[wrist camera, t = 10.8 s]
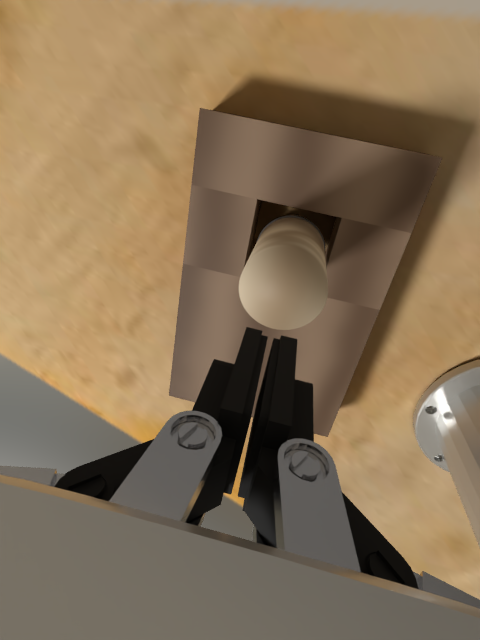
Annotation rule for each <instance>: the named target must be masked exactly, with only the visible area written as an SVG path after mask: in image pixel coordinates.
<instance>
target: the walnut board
mask: <svg viewBox="0 0 480 640" xmlns="http://www.w3.org/2000/svg"><path fill="white" fill-rule="evenodd" d="M441 160H442V158H441V157H437V156H433V155H429V154H424V153H419V152H414V151H409V150H404V149H399V148H394V147H390V146H385V145H380V144H375V143H370V142H365V141H360V140H355V139H350V138H346V137H341V136H336V135H331V134H326V133H321V132H316V131H311V130H306V129H302V128H297V127H292V126H287V125H282V124H277V123H272V122H267V121H262V120H258V119H253V118H248V117H243V116H238V115H233V114H228V113H223V112H218V111H214V110H208V109H202V108H200V112H199V121H198V130H197V139H196V149H195V158H194V167H193V177H192V186H191V195H190V205H189V214H188V223H187V232H186V242H185V251H184V260H183V270H182V279H181V288H180V297H179V307H178V316H177V325H176V335H175V344H174V353H173V363H172V372H171V381H170V390H169V396H173V397H177V398H181V399H185V400H188V401H192V402H196V400H197V398H198V395H199V393H200V390H201V388H202V386H203V383H204V381H205V379H206V376H207V374H208V371H209V369H210V367H211V364H212V362H213V360H214V359H216V360H220V361H224V362H228V363H232V364H235V361H236V358H237V355H238V352H239V349H240V346H241V342H242V339H243V336H244V333H245V330H246V327H250V328H254V329H258V330H262V335H264V336H268V339H267V344H266V348H265V353H264V358H263V363H262V367H261V372H260V377H259V382H258V387H257V391H256V396H255V401H254V406H253V411H252V415H251V417H254V412H255V408H256V403H257V399H258V395H259V392H260V388H261V384H262V380H263V376H264V373H265V369H266V365H267V361H268V357H269V353H270V350H271V346H272V342H273V339H274V338H276V339H280V337H281V335H282V336H287V337H291V338H295V339H297V355H296V370H295V379H296V380H300V381H304V382H308V383H312V384H313V423H314V434H318V435H322V436H326V437H328V435H329V432H330V430H331V428H332V425H333V423H334V420H335V418H336V415H337V413H338V411H339V408H340V406H341V403H342V401H343V398H344V396H345V394H346V391H347V389H348V386H349V384H350V381H351V379H352V377H353V374H354V372H355V369H356V367H357V364H358V362H359V359H360V357H361V355H362V352H363V350H364V347H365V345H366V342H367V340H368V338H369V335H370V333H371V330H372V328H373V325H374V323H375V321H376V318H377V316H378V313H379V311H380V308H381V306H382V304H383V301H384V299H385V296H386V294H387V291H388V289H389V287H390V284H391V282H392V279H393V277H394V274H395V272H396V270H397V267H398V265H399V262H400V260H401V257H402V255H403V253H404V250H405V248H406V245H407V243H408V240H409V238H410V236H411V233H412V231H413V228H414V226H415V223H416V221H417V219H418V216H419V214H420V211H421V209H422V206H423V204H424V202H425V199H426V197H427V194H428V192H429V189H430V187H431V185H432V182H433V180H434V177H435V175H436V172H437V170H438V167H439V165H440V163H441ZM261 200H263V201H268V202H272V203H277V204H281V205H286V206H290V207H295V208H299V209H304V210H309V211H313V212H318V213H322V214H327V215H331V216H336V220H335V223H334V227H333V230H332V233H331V237H330V240H329V243H328V247H327V250H326V253H325V260H326V270H327V281H328V296H327V300H326V303H325V306H324V308H323V309H322V311H321V312H320V314H319V315H318V316H317V317H316V318H315V319H314V320H313V321H311V322H310V323H308V324H306V325H304V326H302V327H300V328H296V329H291V330H277V329H272V328H269V327H266V326H264V325H262V324H260V323H258V322H257V321H256V320H254V319H253V318H252V317H251V316H250V315H249V314H248V313H247V311H246V310H245V308H244V307H243V305H242V302H241V299H240V296H239V280H240V276H241V274H242V271H243V269H244V267H245V265H246V263H247V261H248V259H249V257H250V254H251V249H252V244H253V239H254V234H255V229H256V224H257V219H258V214H259V209H260V204H261Z"/></svg>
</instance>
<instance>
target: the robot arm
mask: <svg viewBox="0 0 480 640" xmlns="http://www.w3.org/2000/svg"><path fill="white" fill-rule="evenodd" d="M267 339H268V336H264V335H262V330H258V329H254V328H250V327H246V330H245V333H244V336H243V339H242V342H241V346H240V349H239V352H238V355H237V358H236V361H235V364H232V363H228V362H224V361H220V360H216V359H214V360H213V362H212V364H211V367H210V369H209V371H208V374H207V376H206V379H205V381H204V383H203V386H202V388H201V390H200V393H199V395H198V398H197V400H196V402H195V405H194V407H193V410H192V411H184V412H180V413H178V414H176V415H174V416H172V417H171V418H170V419H169V420H168V421H167V423H166V424H165V425H164V427H163V428H162V429H161V431H160V432H159V433H158V435H157V436H156V438H155V439H153V440H150V441H147V442H145V443H142V444H139V445H137V446H134V447H131V448H129V449H126V450H123V451H120V452H117V453H115V454H112V455H109V456H106V457H104V458H101V459H98V460H95V461H93V462H90V463H87V464H84V465H82V466H79V467H77V468H75V469H73V470H71V471H69V472H67V473H66V474H57V471H56V469H47V468H30V467H11V466H0V640H480V600H479V599H477V598H475V597H473V596H471V595H469V594H467V593H465V592H463V591H461V590H459V589H457V588H455V587H453V586H451V585H449V584H447V583H445V582H443V581H441V580H440V579H438V578H436V577H434V576H432V575H430V574H428V573H426V572H424V571H422V572H421V574H420V575H419V574H417V573H415V572H413V571H412V569H411V567H410V566H409V565H408V563H407V562H406V561H405V559H404V558H403V557H402V556H401V555H400V554H399V552H398V551H397V550H396V549H395V548H394V547H393V546H392V545H391V544H390V543H389V542H388V541H387V540H386V539H385V538H384V536H383V535H382V534H381V533H380V532H379V531H378V530H377V529H376V528H375V527H374V526H373V525H372V524H371V523H370V521H369V520H368V519H367V518H366V517H365V516H364V515H363V514H362V513H361V512H360V511H359V510H358V509H357V508H356V507H355V505H354V504H353V503H352V502H351V501H350V500H349V499H348V498H347V497H346V496H345V495H344V494H343V493H342V491H341V487H340V483H339V479H338V475H337V470H336V466H335V464H334V461H333V459H332V457H331V456H330V454H329V453H328V452H327V451H326V450H325V449H324V448H323V447H321V446H320V445H319V444H317V443H315V442H314V423H313V384H312V383H308V382H304V381H300V380H296V379H295V370H296V355H297V339H295V338H291V337H287V336H282V335H281V337H280V339H276V338H274V339H273V342H272V346H271V350H270V353H269V357H268V361H267V365H266V369H265V373H264V376H263V380H262V384H261V388H260V392H259V395H258V399H257V403H256V408H255V412H254V417H253V422H252V427H251V432H250V437H249V442H248V447H247V452H246V457H245V462H244V467H243V472H242V477H241V482H240V487H239V492H238V496H239V497H242V498H245V500H244V505H243V511H245V512H246V514H247V515H248V517H249V518H250V520H251V521H252V522H253V524H254V527H253V532H252V541H249V540H245V539H242V538H238V537H235V536H231V535H228V534H224V533H220V532H217V531H213V530H210V529H206V528H203V527H201V525H202V523H203V521H204V517H205V513H206V512H208V511H209V510H211V509H213V508H215V507H217V506H219V505H220V504H221V501H222V497H223V493H228V494H231V493H232V489H233V485H234V481H235V477H236V473H237V470H238V466H239V462H240V458H241V454H242V450H243V446H244V443H245V439H246V435H247V431H248V427H249V423H250V419H251V415H252V411H253V406H254V401H255V396H256V391H257V387H258V382H259V377H260V372H261V367H262V363H263V358H264V353H265V348H266V344H267ZM413 427H414V432H415V436H416V439H417V441H418V444H419V447H420V448H421V450H422V451H423V453H424V454H425V456H426V457H427V458H428V459H429V460H430V461H431V462H433V463H434V464H436V465H437V466H439V467H440V468H442V469H443V470H446V471H448V472H450V474H451V477H452V479H453V482H454V484H455V487H456V489H457V492H458V494H459V497H460V499H461V502H462V504H463V507H464V509H465V512H466V515H467V517H468V520H469V522H470V525H471V527H472V530H473V532H474V535H475V537H476V540H477V542H478V545H479V547H480V359H479V360H475V361H472V362H470V363H467V364H464V365H461V366H459V367H457V368H455V369H453V370H451V371H449V372H447V373H445V374H444V375H443V376H441V377H440V378H439V379H437V380H436V381H435V382H433V383H432V384H431V386H430V387H429V388H428V389H427V390H426V391H425V392H424V393H423V395H422V396H421V398H420V400H419V401H418V403H417V406H416V409H415V412H414V417H413Z"/></svg>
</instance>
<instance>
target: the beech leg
mask: <svg viewBox="0 0 480 640" xmlns="http://www.w3.org/2000/svg"><path fill="white" fill-rule="evenodd" d="M239 296H240V299H241V302H242V305H243V307H244V308H245V310H246V311H247V313H248V314H249V315H250V316H251V317H252V318H253V319H254V320H256V321H257V322H258V323H260V324H262V325H264V326H266V327H269V328H272V329H277V330H291V329H296V328H300V327H302V326H304V325H306V324H308V323H310V322H311V321H313V320H314V319H315V318H316V317H317V316H318V315H319V314H320V312H321V311H322V309H323V308H324V306H325V303H326V300H327V296H328V281H327V270H326V260H325V242H324V238H323V236H322V234H321V232H320V230H319V229H318V227H317V226H316V225H315V224H314V223H312V222H311V221H309V220H308V219H306V218H305V217H303V216H300V215H295V214H291V215H286V216H282V217H279V218H276V219H274V220H273V221H271V222H270V223H268V224H267V225H266V226H265V227H264V229H263V230H262V231H261V233H260V235H259V237H258V240H257V243H256V245H255V247H254V249H253V251H252V253H251V255H250V257H249V259H248V261H247V263H246V265H245V267H244V269H243V271H242V274H241V276H240V280H239Z"/></svg>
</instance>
